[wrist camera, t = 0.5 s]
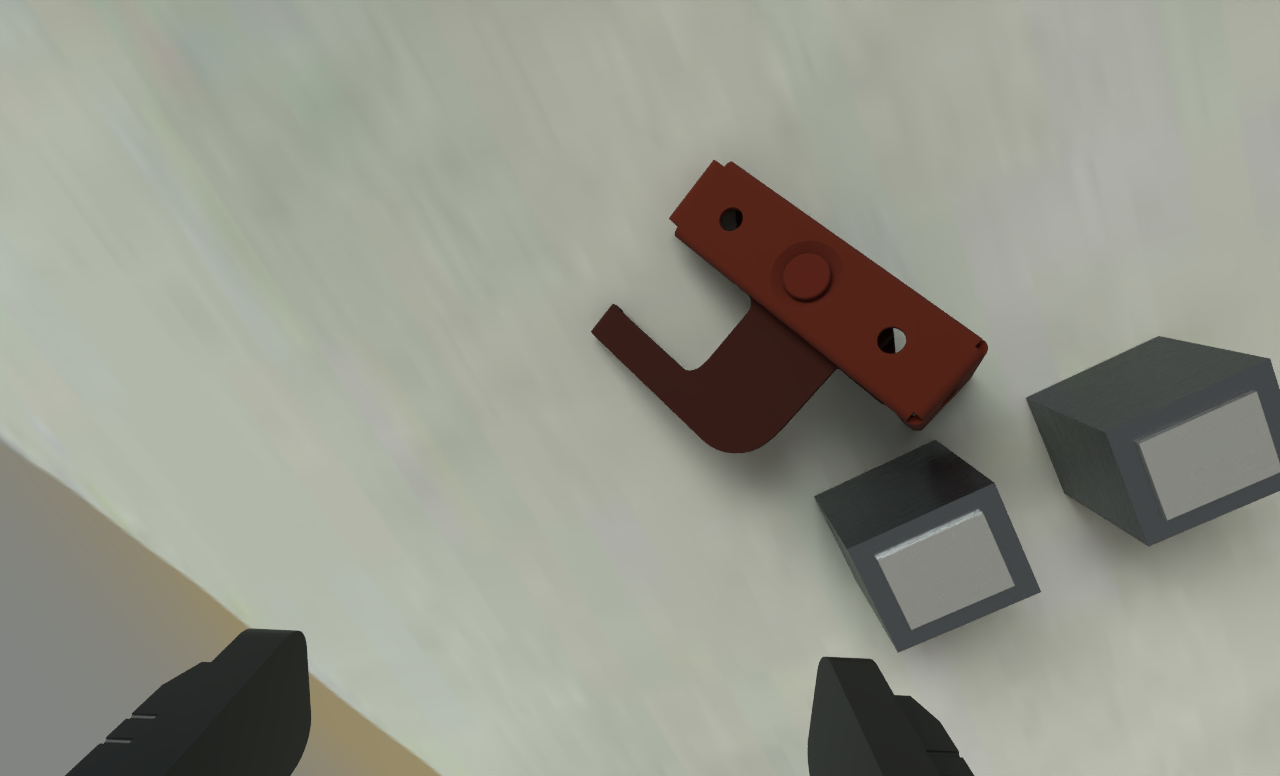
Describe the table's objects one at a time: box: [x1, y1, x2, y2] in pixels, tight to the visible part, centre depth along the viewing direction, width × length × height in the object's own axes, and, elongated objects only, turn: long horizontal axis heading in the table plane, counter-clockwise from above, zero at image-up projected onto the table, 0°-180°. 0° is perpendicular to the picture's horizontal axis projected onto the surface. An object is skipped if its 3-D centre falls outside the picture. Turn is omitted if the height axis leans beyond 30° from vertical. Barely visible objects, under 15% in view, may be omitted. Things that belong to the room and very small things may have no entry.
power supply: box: [814, 440, 1041, 652], centre depth 32 cm, size 7×6×6 cm
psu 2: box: [1026, 336, 1280, 546], centre depth 30 cm, size 7×6×6 cm
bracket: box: [591, 160, 988, 453], centre depth 32 cm, size 10×14×10 cm
